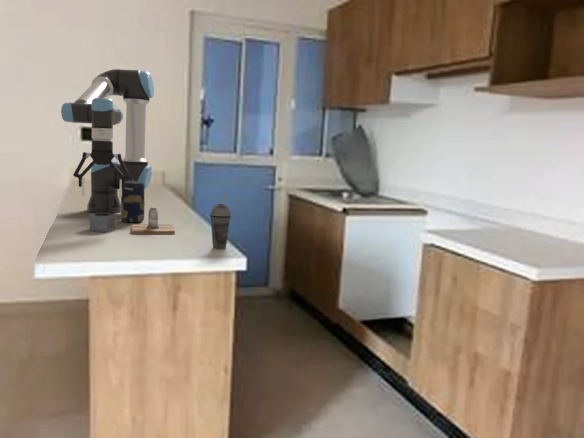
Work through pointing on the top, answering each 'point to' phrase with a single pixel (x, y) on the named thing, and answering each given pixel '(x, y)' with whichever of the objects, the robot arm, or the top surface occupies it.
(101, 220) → the ring
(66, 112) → the robot arm
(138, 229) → the post block
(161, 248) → the top surface
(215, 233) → the beverage cup
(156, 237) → the top surface
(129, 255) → the top surface
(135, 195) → the canister
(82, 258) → the top surface
